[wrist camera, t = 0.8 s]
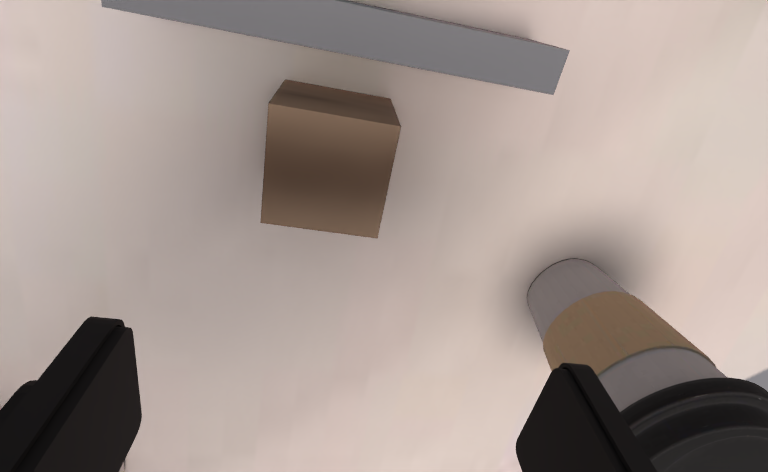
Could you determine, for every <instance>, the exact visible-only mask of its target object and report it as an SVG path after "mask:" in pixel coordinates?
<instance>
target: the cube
mask: <svg viewBox="0 0 768 472" xmlns="http://www.w3.org/2000/svg"><path fill="white" fill-rule="evenodd" d="M400 129H401V125H400V123H399V120H398V117H397V115H396V112H395V110H394V107H393V104H392V102H391V99H389V98H383V97H378V96H373V95H367V94H362V93H356V92H351V91H345V90H340V89H334V88H329V87H323V86H318V85H312V84H307V83H302V82H296V81H291V80H285V81H284V82H283V83H282V85H281V86H280V88H279V89H278V91H277V92H276V94H275V95H274V96H273V98H272V99H271V101H270V102H269V104H268V119H267V134H266V149H265V164H264V179H263V194H262V209H261V223H266V224H273V225H281V226H288V227H296V228H303V229H311V230H318V231H326V232H333V233H341V234H348V235H356V236H363V237H371V238H378V233H379V228H380V223H381V219H382V214H383V209H384V204H385V200H386V195H387V190H388V186H389V181H390V176H391V171H392V167H393V162H394V157H395V152H396V148H397V143H398V138H399V133H400Z"/></svg>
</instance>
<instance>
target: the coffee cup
mask: <svg viewBox="0 0 768 472" xmlns="http://www.w3.org/2000/svg"><path fill="white" fill-rule="evenodd" d="M527 299H528V305H529V308H530V310H531V313H532V316H533V318H534V321H535V323H536V326H537V328H538V331H539V333H540V336H541V339H542V341H543V349H544V352H545V355H546V357H547V360H548V363H549V365H550V368H551V370H552V371H553V369H555V368H558V367H559V366H560V364H562V363H574V364H585V365H588V366H590V367H591V368H592V369H593V370H594V372H595V374H596V375H597V377H598V378H599V380H600V381H601V383H602V385H603V386H604V388H605V389H606V391H607V393H608V394H609V396H610V397H611V399H612V401H613V402H614V404H615V405H616V407H617V408H618V410H619V412H620V413H621V415H622V416H623V418H624V420H625V421H626V423H627V424H628V426H629V427H630V429H631V431H632V432H633V434H634V435H635V437H636V439H637V440H638V442H639V443H640V445H641V446H642V448H643V450H644V451H645V453H646V454H647V456H648V458H649V459H650V461H651V462H652V464H653V466H654V467H655V469H656V470H657V472H768V392H767V391H766V390H765V389H764V388H762V387H760V386H759V385H757V384H755V383H752V382H749V381H746V380H741V379H735V378H727V377H726V376H725V375H724V374H723V373H722V372H720V371H719V370H718V369H717V368H716V366H715V364H714V363H713V362H712V361H711V360H710V359H709V358H708V357H707V356H706V355H705V354H704V353H703V352H701V351H700V350H699V349H698V348H697V347H696V346H694V345H693V344H692V343H691V342H690V341H688V340H687V339H686V338H685V337H684V336H682V335H681V334H680V333H679V332H678V331H676V330H675V329H674V328H673V327H672V326H670V325H669V324H668V323H667V322H666V321H665V320H663V319H662V318H661V317H660V316H659V315H657V314H656V313H655V312H654V311H653V310H651V309H650V308H649V307H648V306H647V305H645V304H644V303H643V302H642V301H640V300H639V299H637V298H636V297H634V296H632V295H630V294H629V293H628V292H626V291H625V290H624V289H623V288H622V287H620V286H619V285H618V284H617V283H616V282H615V281H613V280H612V279H611V278H610V277H609V276H607V275H606V274H605V273H604V272H603V271H601V270H600V269H599V268H598V267H596V266H595V265H593V264H592V263H590V262H587V261H585V260H580V259H569V260H564V261H561V262H558V263H556V264H554V265H552V266H551V267H549V268H547V269H546V270H545V271H543V272H542V273H541V274H540V275H539V276H538V277H537V278H536V279H535V281H534V282H533V283H532V285H531V287H530V289H529V291H528V296H527Z"/></svg>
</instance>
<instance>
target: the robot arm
mask: <svg viewBox="0 0 768 472" xmlns="http://www.w3.org/2000/svg"><path fill="white" fill-rule="evenodd" d="M141 417H142V413H141V404H140V394H139V385H138V376H137V367H136V357H135V348H134V339H133V331H132V329H131V328H128V327H125V326H124V322H123V321H122V320H120V319H110V318H100V317H89V318H87V319H86V320H85V321H84V323H83V324H82V325H81V326H80V328H79V329H78V330H77V331H76V333H75V334H74V335H73V336H72V338H71V339H70V340H69V341H68V343H67V344H66V345H65V346H64V348H63V349H62V350H61V351H60V353H59V354H58V355H57V357H56V358H55V359H54V360H53V362H52V363H51V364H50V365H49V367H48V368H47V369H46V370H45V372H44V373H43V374H42V375H41V377H40V378H39V379H38V380H35V381H29V382H27V383H25V384H23V385H22V386H21V387H20V388H19V389H18V390H17V391H16V392H15V393H14V395H13V396H12V397H11V398H10V399H9V401H8V402H7V403H6V404H5V405H4V407H3V408H2V409H1V410H0V472H124V469H125V468H124V460H125V458H126V456H127V454H128V452H129V450H130V447H131V445H132V443H133V441H134V439H135V437H136V435H137V433H138V430H139V427H140V423H141ZM516 454H517V458H518V460H519V463H520V466H521V469H522V472H657V470H656V469H655V467H654V466H653V464H652V462H651V461H650V459H649V458H648V456H647V454H646V453H645V451H644V450H643V448H642V446H641V445H640V443H639V442H638V440H637V439H636V437H635V435H634V434H633V432H632V431H631V429H630V427H629V426H628V424H627V423H626V421H625V420H624V418H623V416H622V415H621V413H620V412H619V410H618V408H617V407H616V405H615V404H614V402H613V401H612V399H611V397H610V396H609V394H608V393H607V391H606V389H605V388H604V386H603V385H602V383H601V381H600V380H599V378H598V377H597V375H596V374H595V372H594V370H593V369H592V368H591V367H590V366H588V365H585V364H574V363H562V364H560V366H559V367H558V368H555V369H553V371H552V372H551V374H550V376H549V378H548V380H547V382H546V384H545V386H544V388H543V390H542V392H541V394H540V396H539V398H538V400H537V402H536V404H535V406H534V408H533V410H532V411H531V413H530V415H529V417H528V419H527V421H526V423H525V425H524V427H523V429H522V431H521V433H520V435H519V437H518V439H517V442H516Z"/></svg>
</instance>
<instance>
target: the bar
mask: <svg viewBox="0 0 768 472" xmlns="http://www.w3.org/2000/svg"><path fill="white" fill-rule="evenodd" d="M101 1H102V7H106V8H112V9H117V10H122V11H127V12H132V13H137V14H142V15H147V16H152V17H158V18H163V19H168V20H173V21H178V22H183V23H188V24H193V25H199V26H204V27H209V28H214V29H219V30H224V31H229V32H234V33H239V34H245V35H250V36H255V37H260V38H265V39H270V40H275V41H280V42H285V43H291V44H296V45H301V46H306V47H311V48H316V49H321V50H326V51H331V52H337V53H342V54H347V55H352V56H357V57H362V58H367V59H372V60H378V61H383V62H388V63H393V64H398V65H403V66H408V67H413V68H418V69H424V70H429V71H434V72H439V73H444V74H449V75H454V76H459V77H464V78H470V79H475V80H480V81H485V82H490V83H495V84H500V85H505V86H511V87H516V88H521V89H526V90H531V91H536V92H541V93H546V94H551V95H554V92H555V89H556V87H557V84H558V81H559V78H560V76H561V73H562V70H563V67H564V65H565V62H566V59H567V56H568V53H569V51H570V50H566V49H563V48H559V47H555V46H552V45H548V44H544V43H541V42H537V41H534V40H530V39H525V38H521V37H516V36H511V35H507V34H502V33H497V32H493V31H488V30H483V29H479V28H474V27H469V26H465V25H460V24H455V23H451V22H446V21H441V20H437V19H432V18H427V17H423V16H418V15H413V14H409V13H404V12H399V11H395V10H390V9H385V8H381V7H376V6H371V5H367V4H362V3H357V2H353V1H348V0H101Z"/></svg>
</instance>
